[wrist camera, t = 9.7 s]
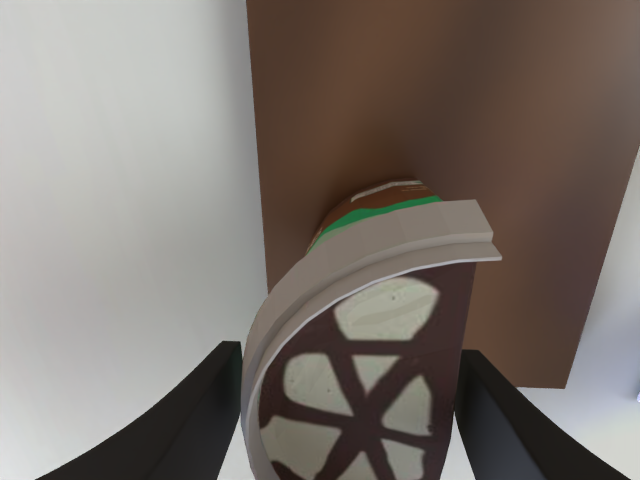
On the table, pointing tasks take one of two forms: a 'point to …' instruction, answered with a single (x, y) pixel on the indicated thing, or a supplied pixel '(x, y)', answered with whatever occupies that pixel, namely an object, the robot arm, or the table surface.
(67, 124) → the table surface
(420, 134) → the walnut board
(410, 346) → the food container
